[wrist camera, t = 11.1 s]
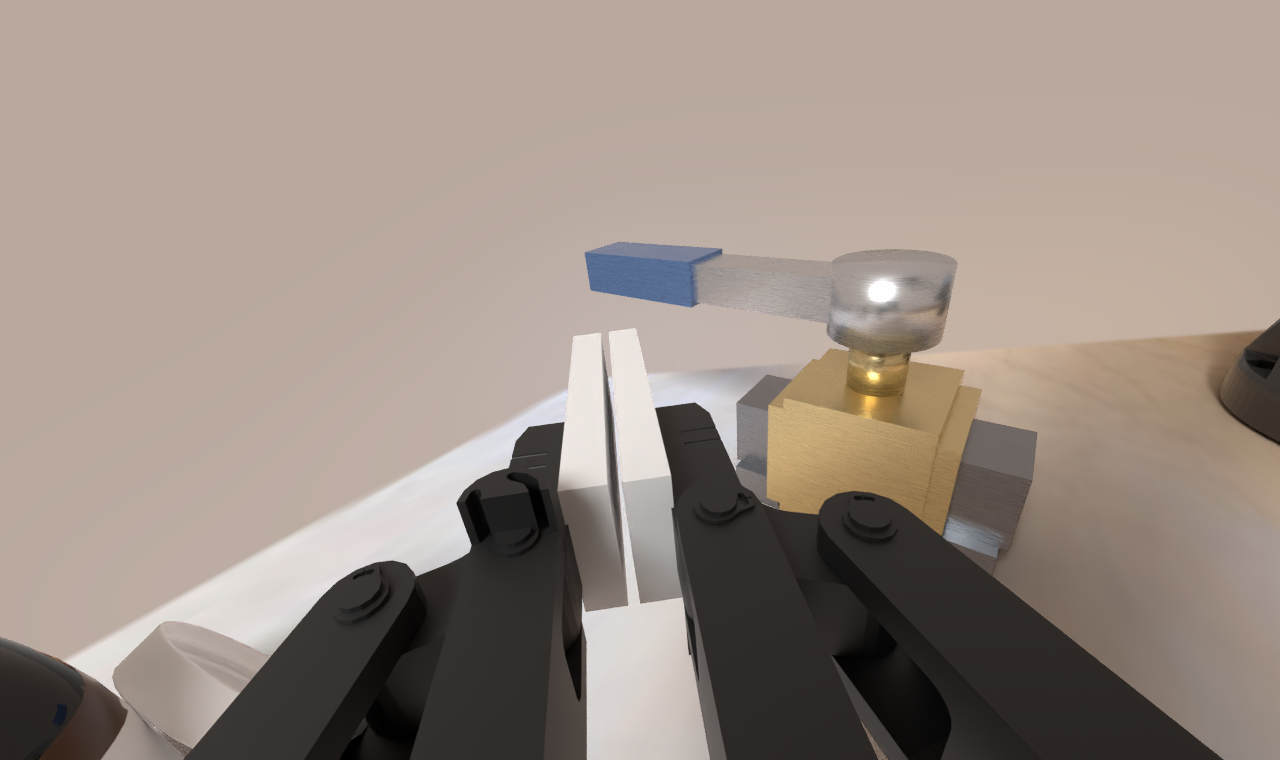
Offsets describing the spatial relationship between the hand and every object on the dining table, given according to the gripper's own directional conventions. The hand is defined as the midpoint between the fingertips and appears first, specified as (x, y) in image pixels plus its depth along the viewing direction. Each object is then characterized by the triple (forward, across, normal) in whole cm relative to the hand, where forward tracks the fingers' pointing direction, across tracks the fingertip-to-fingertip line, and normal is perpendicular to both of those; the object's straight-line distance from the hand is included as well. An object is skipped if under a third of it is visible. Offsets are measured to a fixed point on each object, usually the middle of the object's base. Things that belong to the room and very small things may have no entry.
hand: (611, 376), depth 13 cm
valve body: (+6, +12, -12) cm, 18 cm away
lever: (+11, +7, -2) cm, 13 cm away
